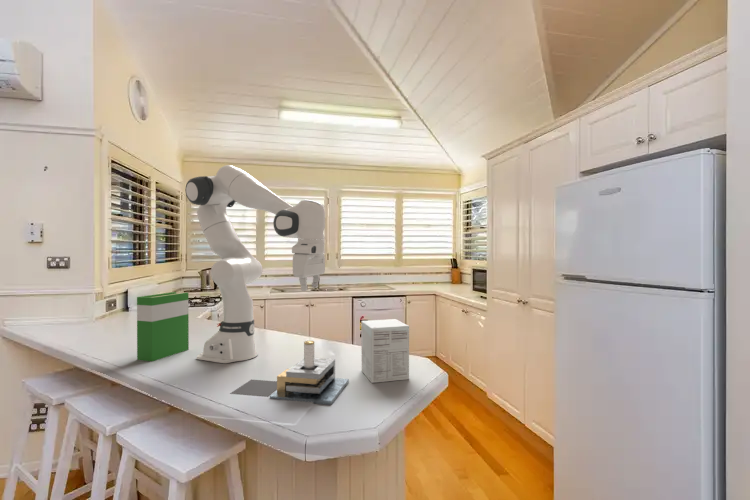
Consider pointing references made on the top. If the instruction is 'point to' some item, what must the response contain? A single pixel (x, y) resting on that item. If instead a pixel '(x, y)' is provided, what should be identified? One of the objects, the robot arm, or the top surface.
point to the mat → (257, 388)
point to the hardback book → (162, 325)
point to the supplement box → (385, 350)
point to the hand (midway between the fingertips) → (309, 289)
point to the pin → (309, 355)
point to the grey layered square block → (310, 383)
